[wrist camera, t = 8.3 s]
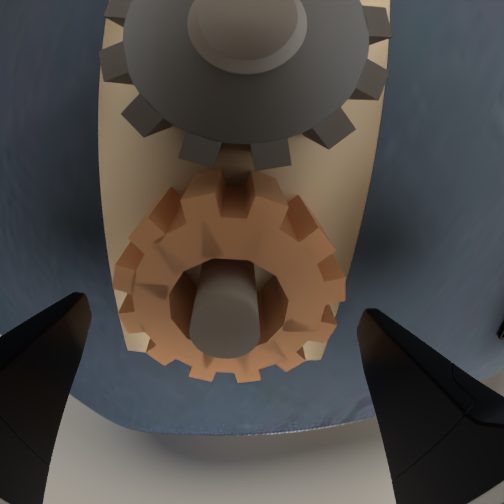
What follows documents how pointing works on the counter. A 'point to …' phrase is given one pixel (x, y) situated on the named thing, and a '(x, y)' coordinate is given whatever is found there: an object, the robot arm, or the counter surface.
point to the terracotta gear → (230, 247)
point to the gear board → (165, 170)
